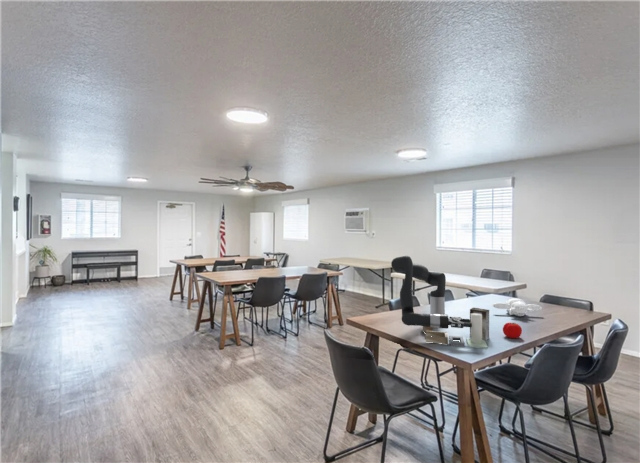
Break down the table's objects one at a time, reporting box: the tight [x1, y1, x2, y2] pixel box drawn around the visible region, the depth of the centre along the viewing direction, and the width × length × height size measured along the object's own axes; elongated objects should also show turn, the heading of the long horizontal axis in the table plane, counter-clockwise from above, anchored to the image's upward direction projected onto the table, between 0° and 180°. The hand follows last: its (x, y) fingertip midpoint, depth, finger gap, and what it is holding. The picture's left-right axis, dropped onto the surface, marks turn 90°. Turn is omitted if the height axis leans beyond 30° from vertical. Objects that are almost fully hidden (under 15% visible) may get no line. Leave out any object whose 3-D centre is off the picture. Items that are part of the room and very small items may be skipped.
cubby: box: [425, 330, 449, 345], centre depth 192 cm, size 12×11×4 cm
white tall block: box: [470, 313, 482, 344], centre depth 186 cm, size 6×6×15 cm
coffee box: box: [469, 307, 490, 341], centre depth 198 cm, size 9×6×16 cm
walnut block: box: [422, 326, 434, 333], centre depth 207 cm, size 4×4×6 cm
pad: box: [466, 338, 489, 349], centre depth 186 cm, size 12×9×1 cm
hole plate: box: [448, 335, 466, 347], centre depth 189 cm, size 12×7×2 cm, turn 163°
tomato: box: [502, 322, 523, 339], centre depth 198 cm, size 9×10×8 cm
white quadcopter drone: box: [492, 297, 543, 317], centre depth 253 cm, size 24×30×11 cm
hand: (470, 323), depth 187 cm, fingers open, 8 cm apart
